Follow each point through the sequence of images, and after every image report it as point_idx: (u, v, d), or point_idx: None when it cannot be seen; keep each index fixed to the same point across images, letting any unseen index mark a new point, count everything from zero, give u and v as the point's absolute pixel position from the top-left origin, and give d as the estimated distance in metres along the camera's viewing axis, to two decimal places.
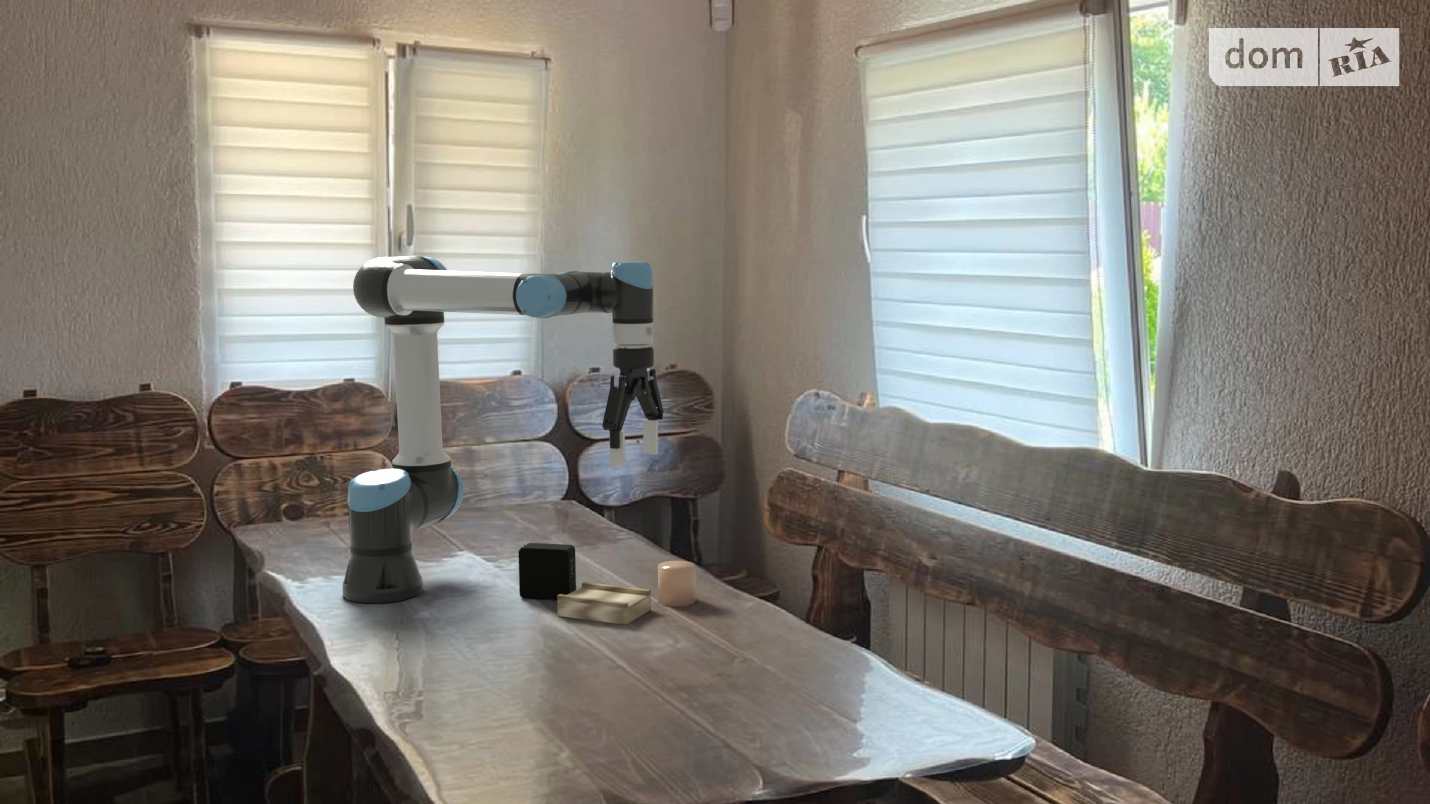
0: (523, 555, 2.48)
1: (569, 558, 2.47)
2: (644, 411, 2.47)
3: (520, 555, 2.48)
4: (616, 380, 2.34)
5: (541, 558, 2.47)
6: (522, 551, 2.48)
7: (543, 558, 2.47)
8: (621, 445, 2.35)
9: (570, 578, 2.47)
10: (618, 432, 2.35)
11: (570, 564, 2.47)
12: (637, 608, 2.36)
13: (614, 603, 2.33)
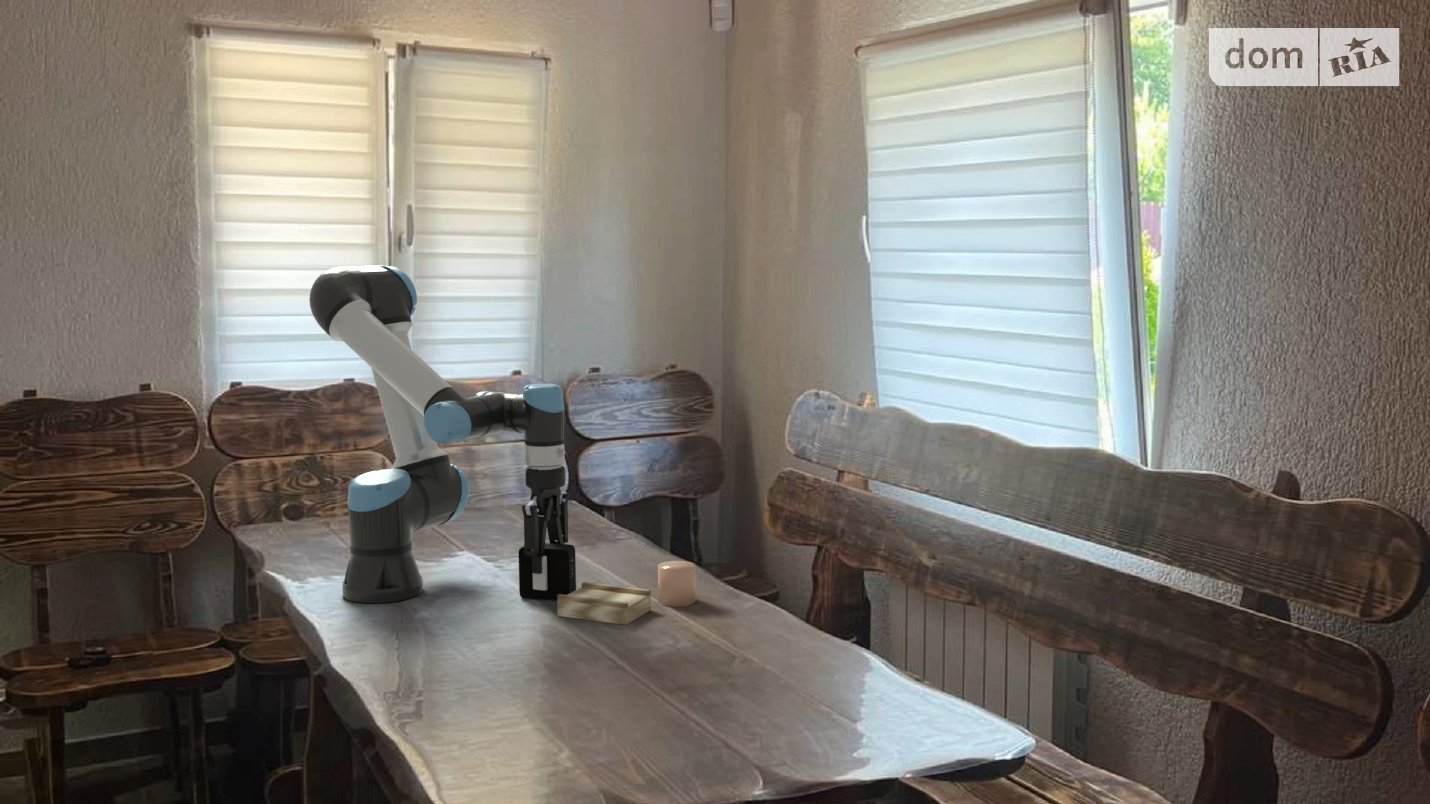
0: (523, 555, 2.48)
1: (569, 558, 2.47)
2: (550, 537, 2.52)
3: (520, 555, 2.48)
4: (527, 510, 2.42)
5: None
6: (522, 551, 2.48)
7: None
8: (543, 570, 2.46)
9: (570, 578, 2.47)
10: (541, 557, 2.46)
11: (570, 564, 2.47)
12: (637, 608, 2.36)
13: (614, 603, 2.33)
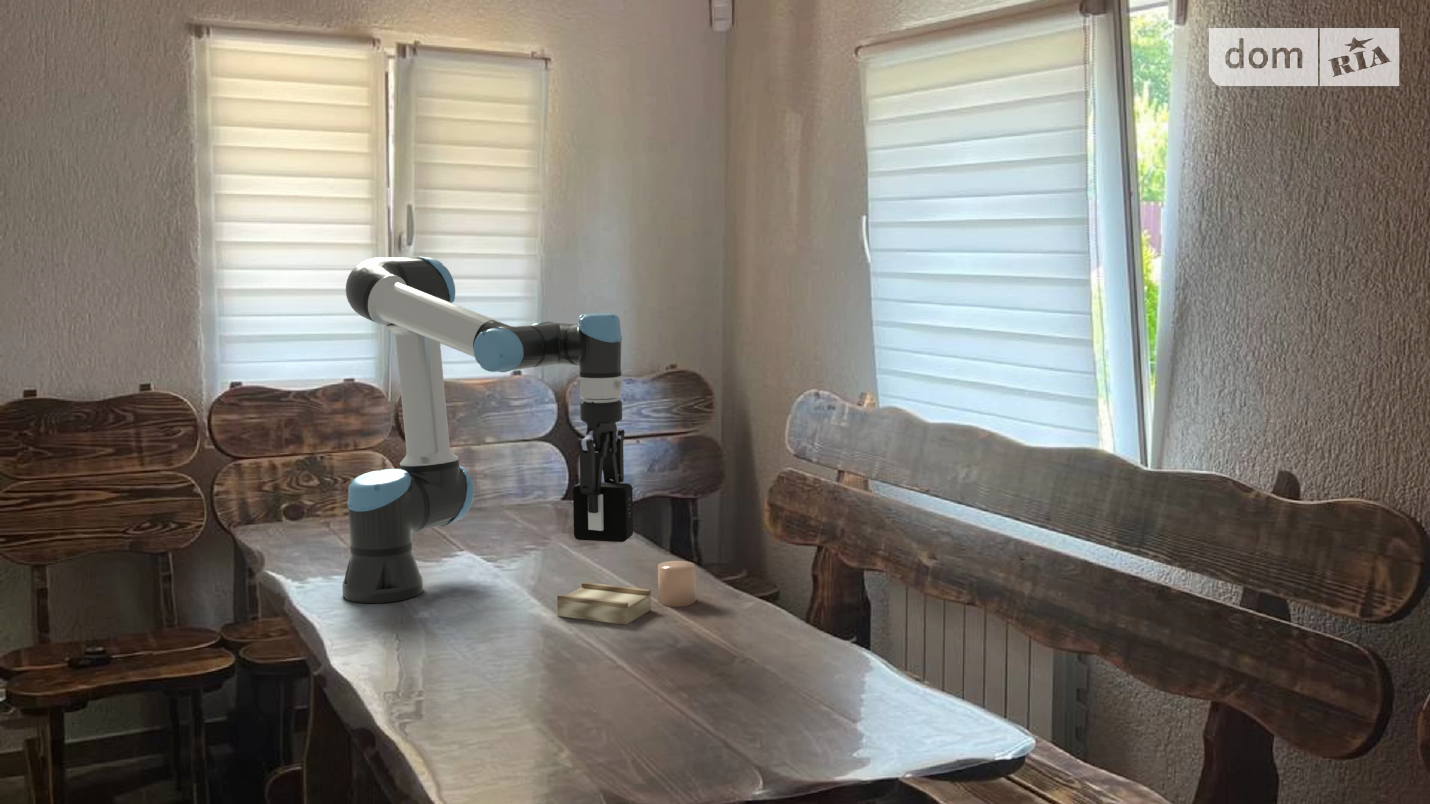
0: (578, 493, 2.36)
1: (626, 497, 2.34)
2: (605, 475, 2.39)
3: (575, 493, 2.36)
4: (583, 445, 2.30)
5: None
6: (577, 489, 2.36)
7: None
8: (599, 509, 2.34)
9: (627, 518, 2.35)
10: (597, 495, 2.34)
11: (627, 503, 2.35)
12: (637, 608, 2.36)
13: (614, 603, 2.33)
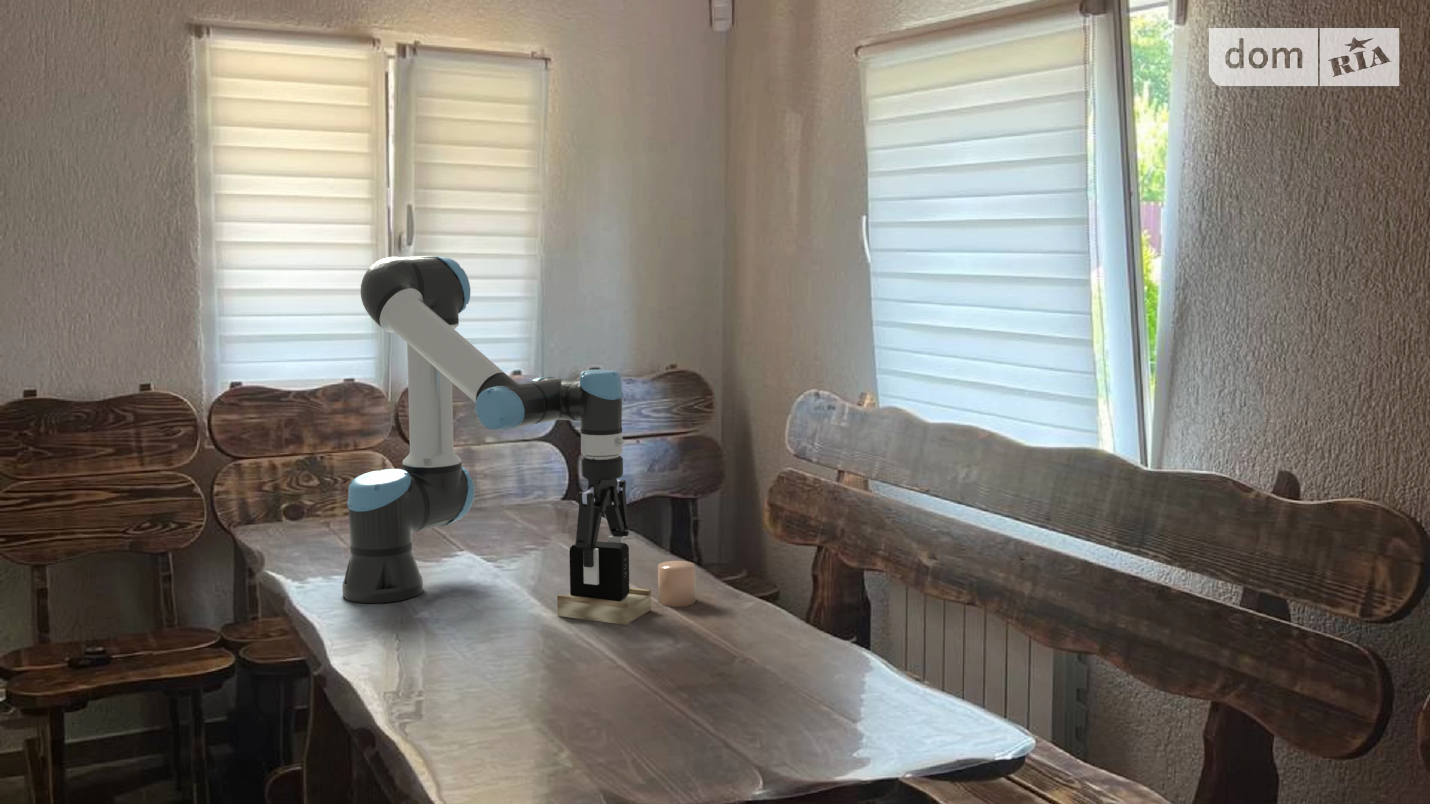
0: (574, 553, 2.37)
1: (622, 557, 2.35)
2: (610, 525, 2.42)
3: (571, 553, 2.37)
4: (584, 498, 2.31)
5: None
6: (573, 549, 2.37)
7: None
8: (595, 563, 2.33)
9: (623, 578, 2.36)
10: (592, 550, 2.33)
11: (623, 563, 2.36)
12: (637, 608, 2.36)
13: (614, 603, 2.33)
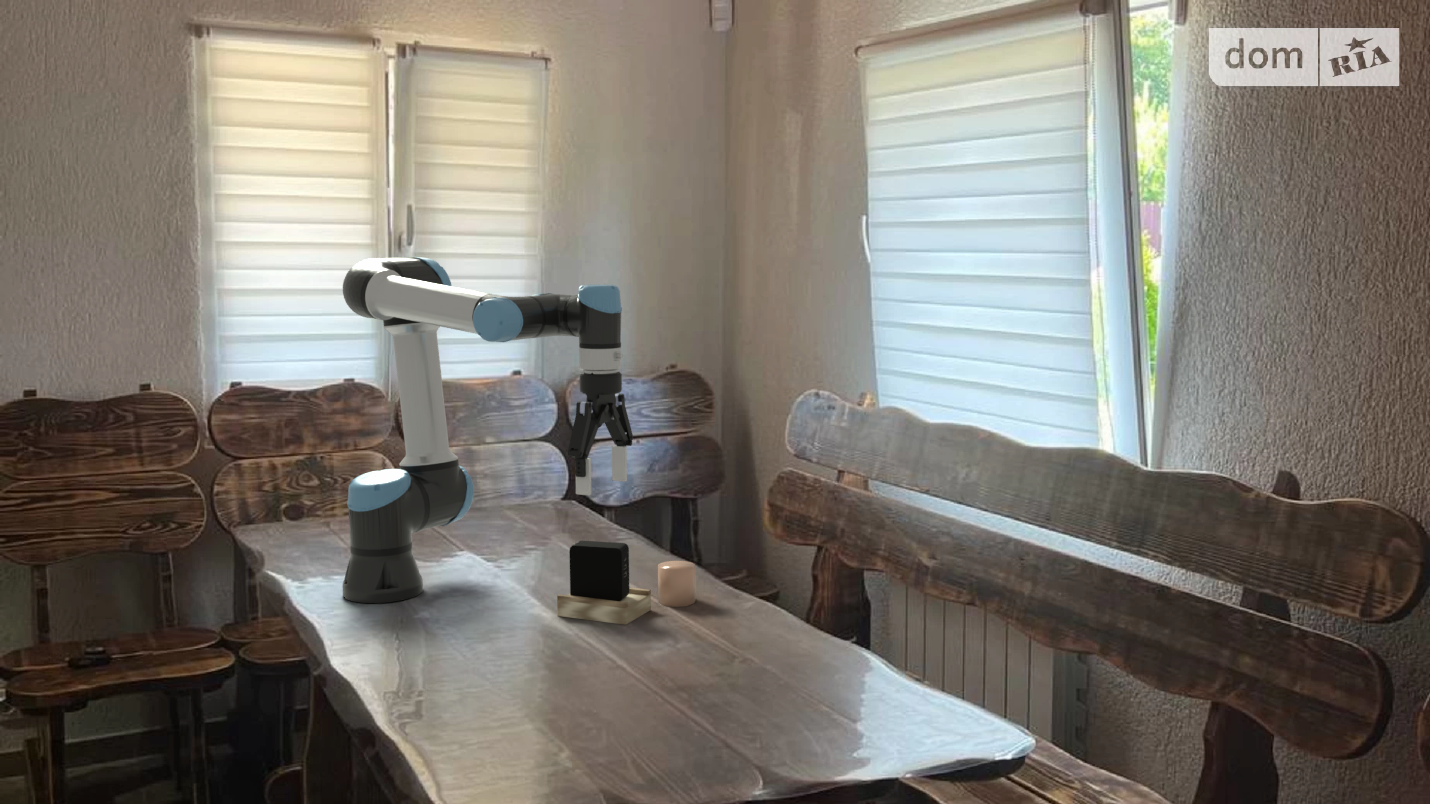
0: (574, 553, 2.37)
1: (622, 557, 2.35)
2: (613, 437, 2.42)
3: (571, 553, 2.37)
4: (582, 406, 2.28)
5: (592, 557, 2.36)
6: (573, 549, 2.37)
7: (595, 556, 2.36)
8: (587, 473, 2.29)
9: (623, 578, 2.36)
10: (584, 460, 2.29)
11: (623, 563, 2.36)
12: (637, 608, 2.36)
13: (614, 603, 2.33)
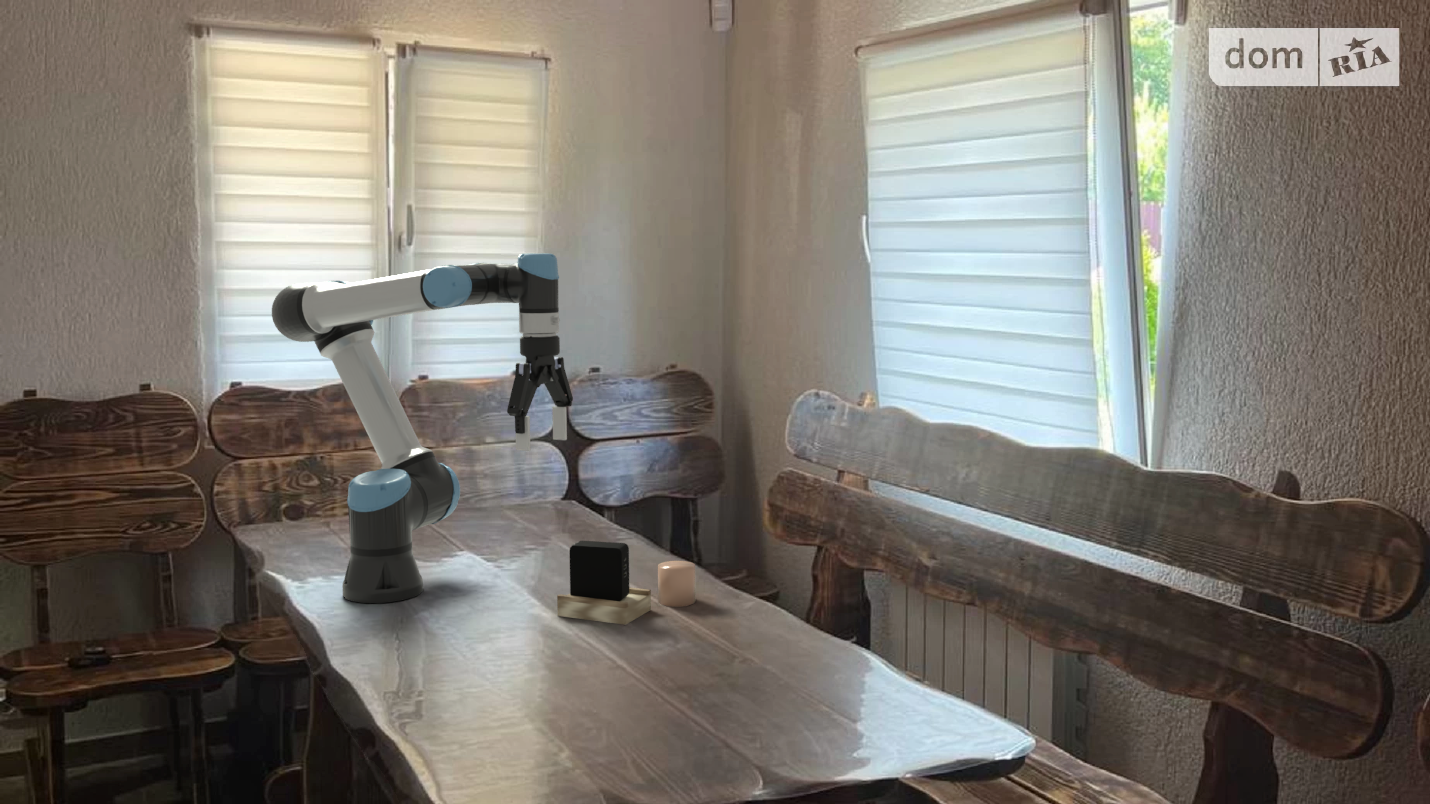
0: (574, 553, 2.37)
1: (622, 557, 2.35)
2: (553, 398, 2.56)
3: (571, 553, 2.37)
4: (521, 367, 2.43)
5: (592, 557, 2.36)
6: (573, 549, 2.37)
7: (595, 556, 2.36)
8: (526, 430, 2.44)
9: (623, 578, 2.36)
10: (523, 417, 2.43)
11: (623, 563, 2.36)
12: (637, 608, 2.36)
13: (614, 603, 2.33)
